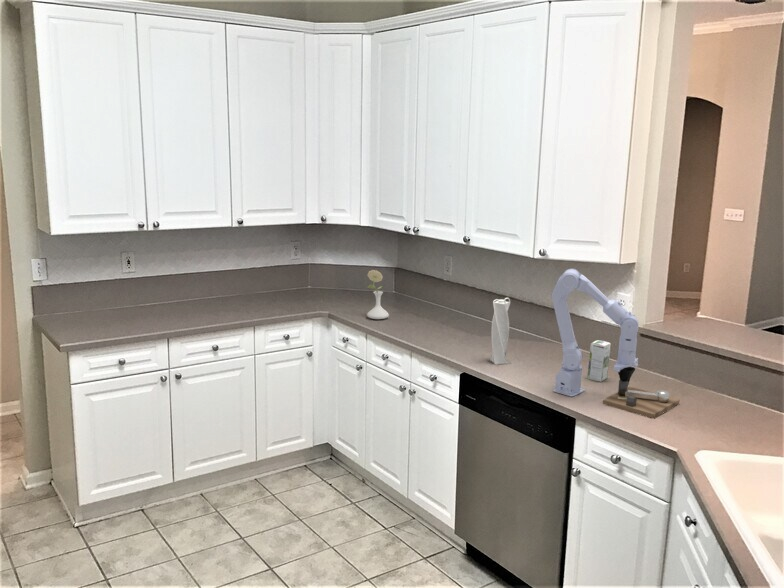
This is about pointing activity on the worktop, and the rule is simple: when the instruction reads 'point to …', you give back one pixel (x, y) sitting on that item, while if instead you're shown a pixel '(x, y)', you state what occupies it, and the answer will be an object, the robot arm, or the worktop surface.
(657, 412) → the board
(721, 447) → the worktop surface
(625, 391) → the press lever
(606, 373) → the syrup box
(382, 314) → the flower in vase
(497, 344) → the skyscraper
